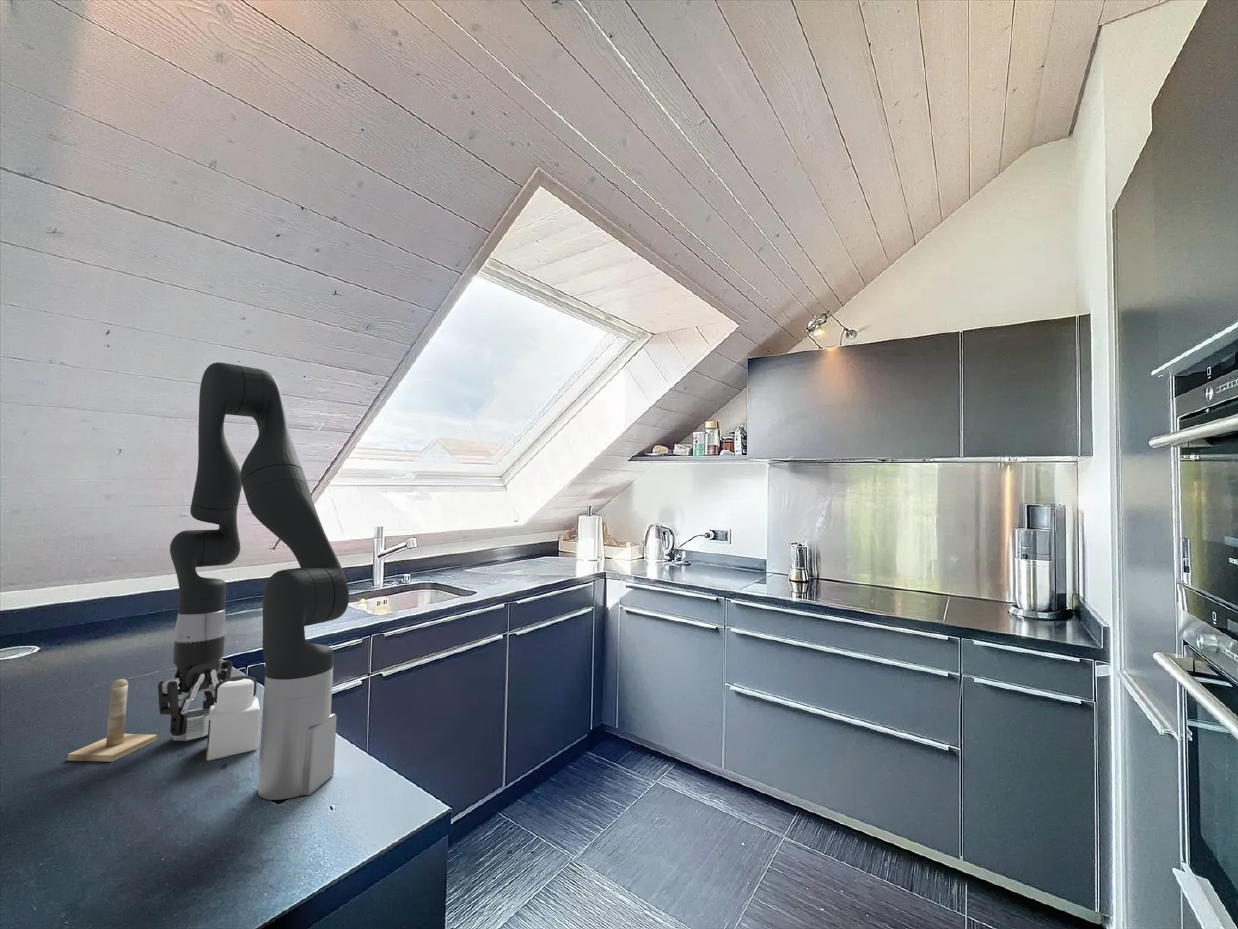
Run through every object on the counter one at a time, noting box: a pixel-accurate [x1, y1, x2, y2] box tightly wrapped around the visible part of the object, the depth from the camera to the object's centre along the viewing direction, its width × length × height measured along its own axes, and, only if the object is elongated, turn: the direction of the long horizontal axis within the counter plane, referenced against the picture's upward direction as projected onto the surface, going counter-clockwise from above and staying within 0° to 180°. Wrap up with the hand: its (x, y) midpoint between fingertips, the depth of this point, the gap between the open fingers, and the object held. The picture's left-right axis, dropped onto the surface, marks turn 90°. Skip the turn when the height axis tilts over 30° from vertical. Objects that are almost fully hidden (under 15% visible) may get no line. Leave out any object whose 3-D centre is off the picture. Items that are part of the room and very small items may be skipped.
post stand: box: [67, 678, 158, 762], centre depth 92 cm, size 8×8×12 cm
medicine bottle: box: [206, 675, 261, 761], centre depth 93 cm, size 7×7×12 cm
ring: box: [171, 707, 210, 742], centre depth 97 cm, size 6×6×4 cm
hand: (194, 727), depth 97 cm, fingers closed on ring, 6 cm apart
